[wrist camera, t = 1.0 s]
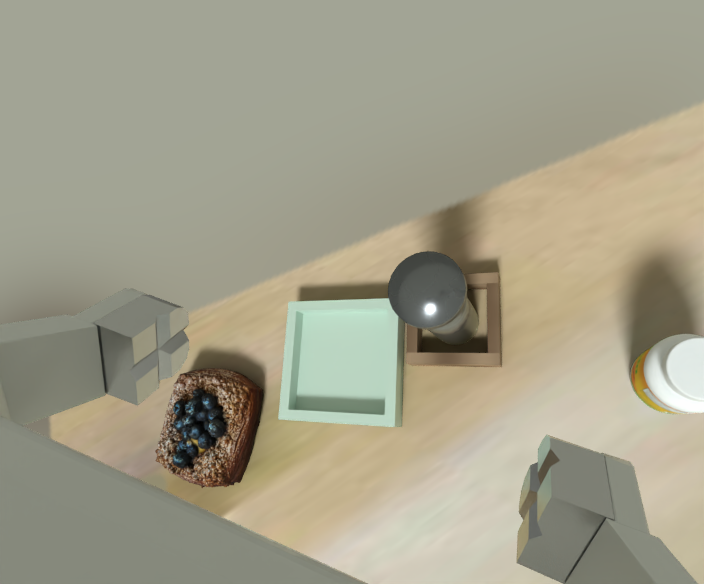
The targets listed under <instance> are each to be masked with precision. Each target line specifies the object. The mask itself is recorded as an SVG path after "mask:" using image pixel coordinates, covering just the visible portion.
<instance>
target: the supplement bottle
mask: <svg viewBox="0 0 704 584" xmlns="http://www.w3.org/2000/svg"><path fill="white" fill-rule="evenodd" d="M630 380H631V385H632V388H633V390H634V392H635V393H636V395H637V396H638V397H639V399H640V400H641V401H642V402H643V403H645V404H646V405H647V406H649V407H650V408H652V409H654V410H656V411H659V412H663V413H668V414H692V413H704V337H703V336H700V335H695V334H679V335H673V336H670V337H667V338H665V339H663V340H661V341H660V342H658V343H657V344H655V345H654V346H652V347H651V348H649V349H648V350H646V351H645V352H643V353H642V354H641V355H640V356H639V357H638V358H637V359H636V360H635V362H634V363H633V365H632V368H631V372H630Z"/></svg>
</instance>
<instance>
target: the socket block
mask: <svg viewBox="0 0 704 584" xmlns="http://www.w3.org/2000/svg"><path fill="white" fill-rule="evenodd" d="M463 275H464V277H465V280H466V284H467V290H469V289H487V323H488V353H422V329H419V328H416V327H413V326H411V325H409V324H407V352H406V363H407V364H409V365H415V366H471V367H502V356H501V309H500V277H499V274H498V272H493V273H473V274H463Z"/></svg>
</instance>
